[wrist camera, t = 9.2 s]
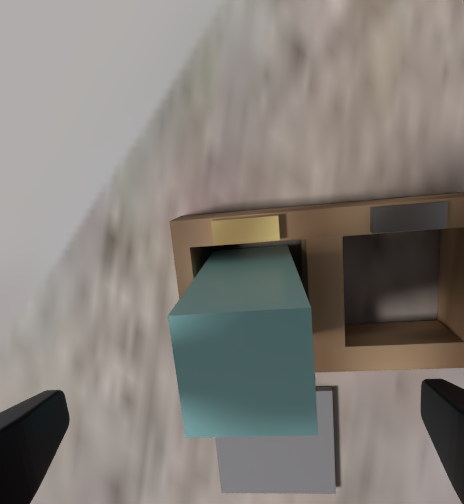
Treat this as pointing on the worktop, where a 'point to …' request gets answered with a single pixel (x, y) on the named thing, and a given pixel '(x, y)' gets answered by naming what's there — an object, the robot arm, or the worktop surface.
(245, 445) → the mat
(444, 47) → the worktop surface
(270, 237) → the socket box
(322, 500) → the worktop surface
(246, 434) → the plug
